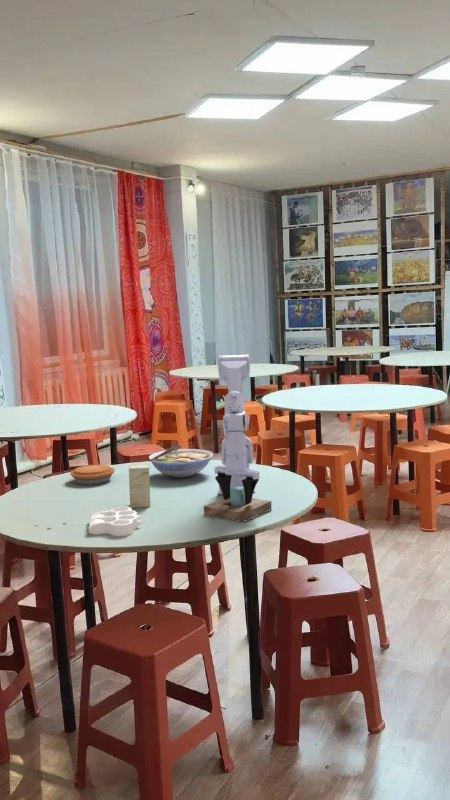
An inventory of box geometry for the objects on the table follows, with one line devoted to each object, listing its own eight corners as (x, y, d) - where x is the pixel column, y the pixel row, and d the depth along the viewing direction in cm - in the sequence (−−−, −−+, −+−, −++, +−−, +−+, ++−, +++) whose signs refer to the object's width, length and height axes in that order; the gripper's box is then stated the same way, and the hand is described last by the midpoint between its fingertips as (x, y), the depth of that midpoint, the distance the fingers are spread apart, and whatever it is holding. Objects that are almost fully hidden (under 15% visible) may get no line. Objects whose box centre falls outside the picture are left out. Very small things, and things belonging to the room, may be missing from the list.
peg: (228, 512, 208) (227, 488, 207) (237, 509, 211) (236, 485, 210) (239, 514, 205) (238, 490, 204) (247, 511, 208) (247, 487, 207)
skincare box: (130, 508, 216) (127, 468, 214) (130, 504, 220) (128, 465, 219) (151, 506, 217) (149, 467, 215) (151, 502, 221) (149, 464, 219)
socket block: (204, 514, 206) (203, 506, 206) (232, 502, 217) (232, 494, 217) (243, 521, 198) (243, 513, 198) (271, 509, 209) (271, 501, 209)
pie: (117, 484, 247) (116, 470, 246) (71, 488, 243) (70, 474, 243) (113, 474, 262) (112, 461, 261) (70, 478, 258) (69, 464, 257)
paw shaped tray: (90, 520, 206) (141, 516, 208) (88, 540, 189) (144, 535, 191) (90, 509, 206) (141, 505, 208) (87, 527, 188) (143, 523, 190)
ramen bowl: (197, 486, 240) (196, 462, 239) (136, 482, 248) (135, 459, 247) (224, 469, 263) (223, 447, 262) (167, 466, 271) (166, 445, 270)
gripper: (207, 454, 207) (209, 500, 208) (248, 459, 198) (250, 507, 200) (222, 450, 212) (223, 494, 214) (263, 454, 204) (264, 501, 205)
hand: (237, 500), depth 207 cm, fingers open, 7 cm apart
